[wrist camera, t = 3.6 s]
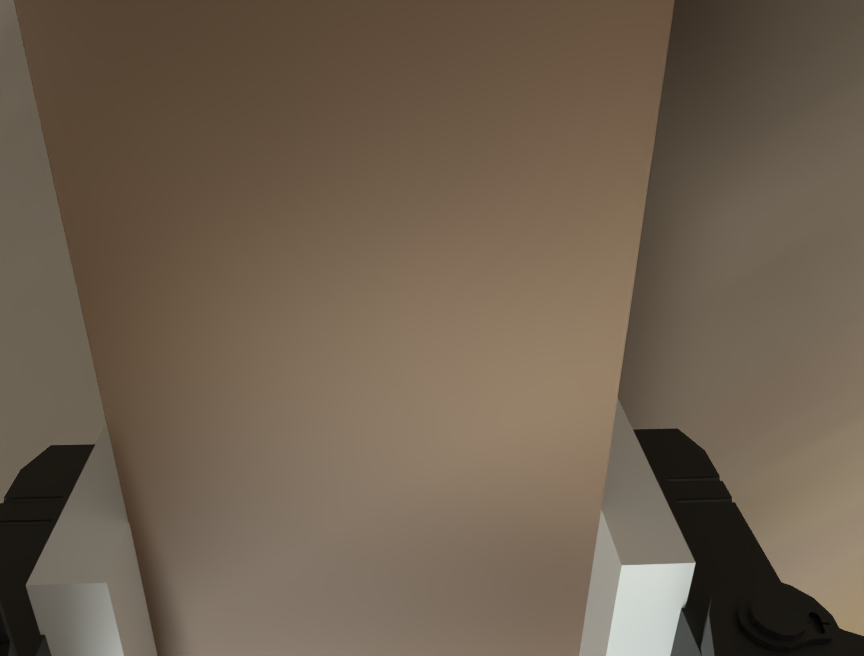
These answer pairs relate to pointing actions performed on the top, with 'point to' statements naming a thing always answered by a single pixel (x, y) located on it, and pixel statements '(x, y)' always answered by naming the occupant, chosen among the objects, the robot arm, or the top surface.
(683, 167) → the top surface
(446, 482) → the walnut beam
